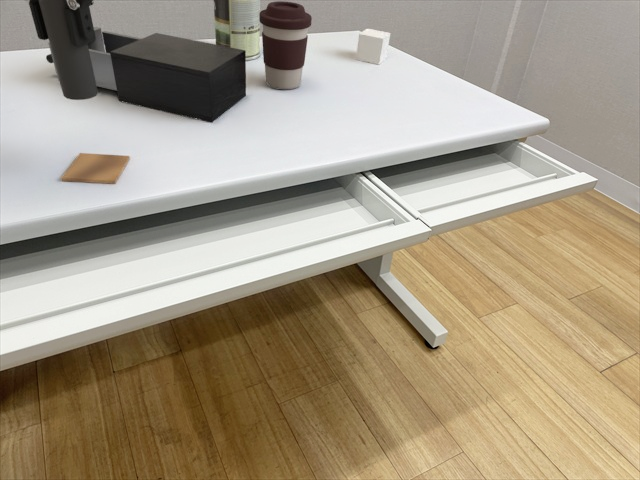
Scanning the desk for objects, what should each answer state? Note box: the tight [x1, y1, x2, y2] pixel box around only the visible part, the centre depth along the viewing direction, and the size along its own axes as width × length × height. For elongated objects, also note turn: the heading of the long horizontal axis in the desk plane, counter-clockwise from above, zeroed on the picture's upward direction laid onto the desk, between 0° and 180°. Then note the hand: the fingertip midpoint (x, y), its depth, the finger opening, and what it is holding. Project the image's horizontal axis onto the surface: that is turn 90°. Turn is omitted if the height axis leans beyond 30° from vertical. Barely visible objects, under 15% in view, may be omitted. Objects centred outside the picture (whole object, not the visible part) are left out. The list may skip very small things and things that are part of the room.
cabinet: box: [110, 32, 247, 123], centre depth 85 cm, size 19×14×9 cm
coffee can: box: [213, 0, 261, 62], centre depth 106 cm, size 10×10×14 cm
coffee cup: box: [259, 0, 313, 90], centre depth 93 cm, size 10×10×15 cm
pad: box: [60, 152, 131, 185], centre depth 66 cm, size 7×7×1 cm
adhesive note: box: [355, 27, 391, 66], centre depth 114 cm, size 6×6×6 cm
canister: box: [39, 0, 99, 101], centre depth 56 cm, size 4×4×12 cm
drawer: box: [45, 26, 143, 92], centre depth 89 cm, size 22×12×7 cm, turn 72°
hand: (67, 38), depth 56 cm, fingers closed on canister, 4 cm apart
